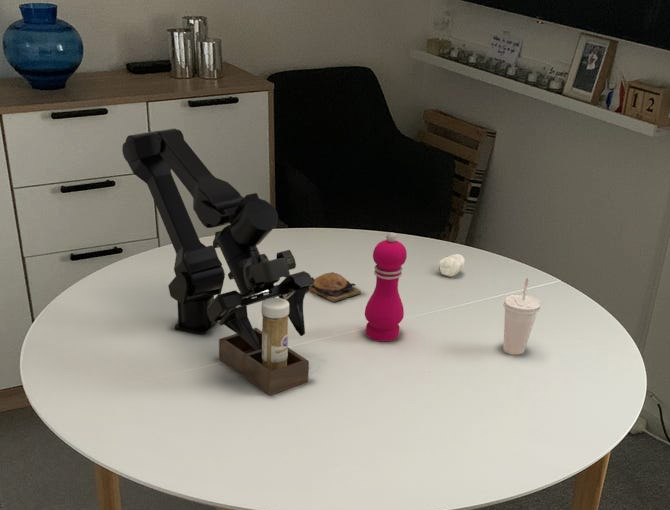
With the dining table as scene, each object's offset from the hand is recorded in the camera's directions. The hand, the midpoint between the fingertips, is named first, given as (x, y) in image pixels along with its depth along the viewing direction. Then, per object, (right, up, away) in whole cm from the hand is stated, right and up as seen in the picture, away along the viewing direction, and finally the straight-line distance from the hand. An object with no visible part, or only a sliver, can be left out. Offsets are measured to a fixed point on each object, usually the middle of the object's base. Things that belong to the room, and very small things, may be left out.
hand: (281, 342), depth 147 cm
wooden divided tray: (-3, -4, +8) cm, 9 cm away
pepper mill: (+20, +3, +20) cm, 28 cm away
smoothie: (+43, 0, +15) cm, 46 cm away
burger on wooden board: (+12, +14, +37) cm, 42 cm away
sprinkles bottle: (-1, -5, +5) cm, 7 cm away
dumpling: (+38, +19, +46) cm, 63 cm away
